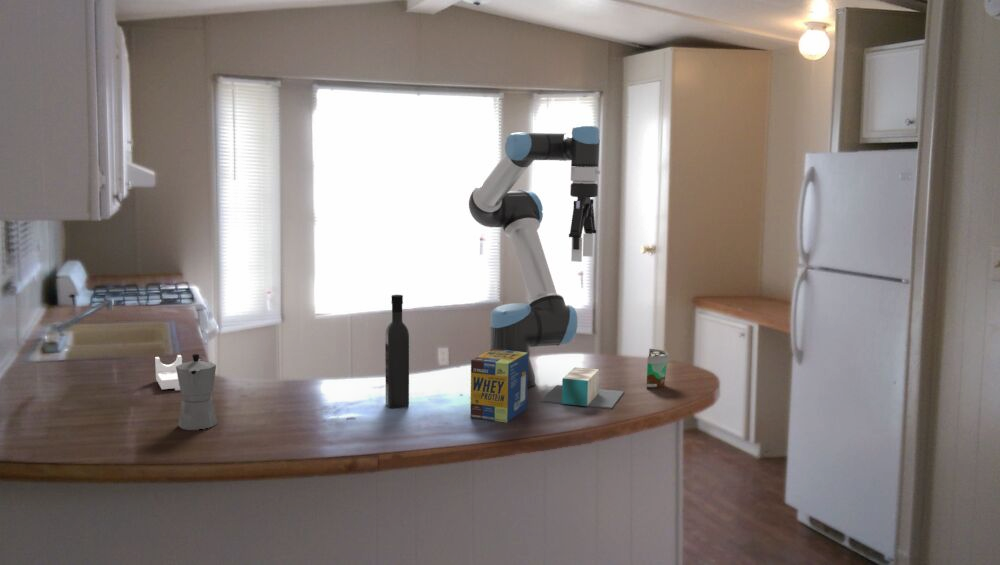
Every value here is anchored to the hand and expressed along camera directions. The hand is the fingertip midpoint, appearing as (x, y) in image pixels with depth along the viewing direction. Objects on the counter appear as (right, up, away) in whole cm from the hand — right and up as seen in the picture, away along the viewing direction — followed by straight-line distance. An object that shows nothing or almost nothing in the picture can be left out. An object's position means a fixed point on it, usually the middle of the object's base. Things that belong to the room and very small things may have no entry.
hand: (582, 258), depth 258 cm
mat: (0, -39, +2) cm, 39 cm away
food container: (+24, -38, +15) cm, 47 cm away
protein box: (-23, -41, -15) cm, 50 cm away
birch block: (-3, -36, -8) cm, 37 cm away
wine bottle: (-51, -40, -10) cm, 65 cm away
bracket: (-118, -37, +8) cm, 124 cm away
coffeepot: (-98, -42, -29) cm, 110 cm away
